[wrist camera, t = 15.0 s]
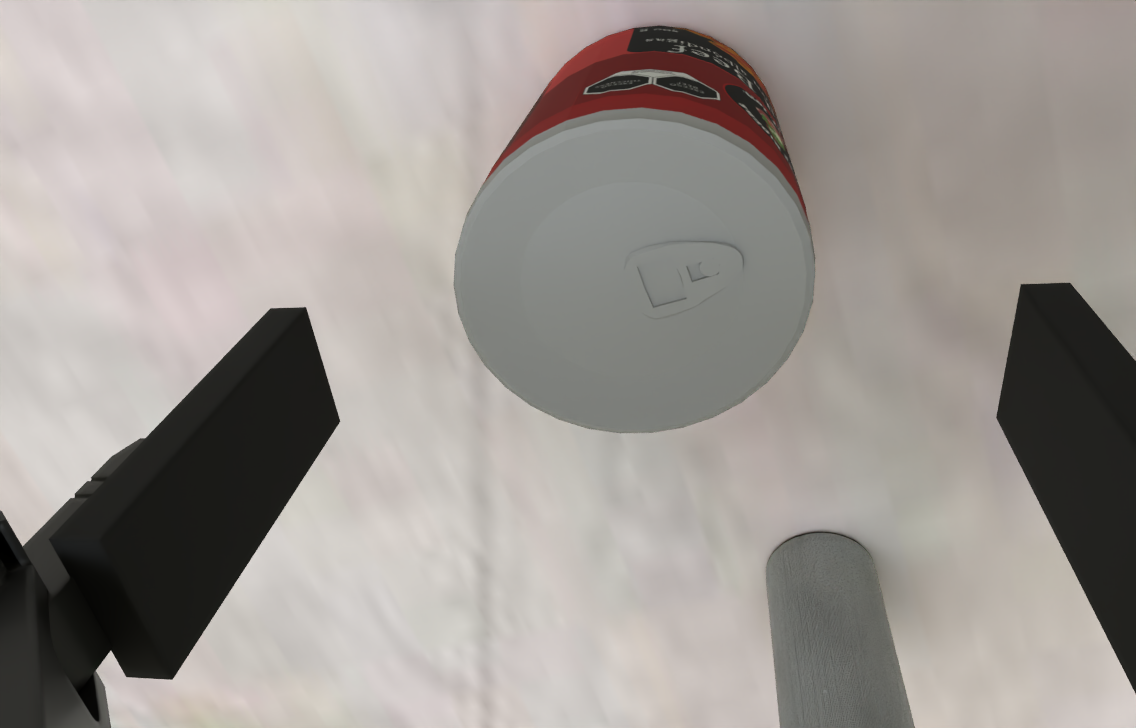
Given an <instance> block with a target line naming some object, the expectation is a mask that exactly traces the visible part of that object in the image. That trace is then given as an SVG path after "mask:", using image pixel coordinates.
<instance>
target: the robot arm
mask: <svg viewBox="0 0 1136 728" xmlns="http://www.w3.org/2000/svg"><path fill="white" fill-rule="evenodd" d="M996 418H997V420H998V422H999V424H1000V426H1001V428H1002V430H1003V432H1004V434H1005V436H1006V438H1007V440H1008V442H1009V444H1010V446H1011V448H1012V450H1013V452H1014V454H1015V456H1016V458H1017V460H1018V462H1019V464H1020V465H1021V467H1022V469H1023V471H1024V473H1025V475H1026V477H1027V479H1028V481H1029V483H1030V485H1031V487H1032V489H1033V491H1034V493H1035V495H1036V497H1037V499H1038V501H1039V503H1040V505H1041V507H1042V509H1043V511H1044V513H1045V515H1046V517H1047V519H1048V521H1049V523H1050V525H1051V527H1052V529H1053V531H1054V533H1055V535H1056V537H1057V539H1058V541H1059V543H1060V545H1061V547H1062V549H1063V551H1064V553H1065V555H1066V557H1067V559H1068V561H1069V563H1070V564H1071V566H1072V568H1073V570H1074V572H1075V574H1076V576H1077V578H1078V580H1079V582H1080V584H1081V586H1082V588H1083V590H1084V592H1085V594H1086V596H1087V598H1088V600H1089V602H1090V604H1091V606H1092V608H1093V610H1094V612H1095V614H1096V616H1097V618H1098V620H1099V622H1100V624H1101V626H1102V628H1103V630H1104V632H1105V634H1106V636H1107V638H1108V640H1109V642H1110V644H1111V646H1112V648H1113V650H1114V652H1115V654H1116V656H1117V658H1118V660H1119V662H1120V663H1121V665H1122V667H1123V669H1124V671H1125V673H1126V675H1127V677H1128V679H1129V681H1130V683H1131V685H1132V687H1133V689H1134V691H1135V693H1136V361H1135V360H1134V359H1133V358H1132V356H1131V355H1130V354H1129V353H1128V352H1127V350H1126V349H1125V348H1124V347H1123V346H1122V344H1121V343H1120V342H1119V341H1118V340H1117V338H1116V337H1115V336H1114V335H1113V334H1112V332H1111V331H1110V330H1109V329H1108V328H1107V326H1106V325H1105V324H1104V323H1103V322H1102V320H1101V319H1100V318H1099V317H1098V316H1097V314H1096V313H1095V312H1094V311H1093V310H1092V308H1091V307H1090V306H1089V305H1088V304H1087V302H1086V301H1085V300H1084V299H1083V298H1082V296H1081V295H1080V294H1079V293H1078V292H1077V290H1076V289H1075V288H1074V287H1073V286H1072V284H1071V283H1048V284H1021V287H1020V293H1019V298H1018V303H1017V309H1016V314H1015V320H1014V325H1013V330H1012V336H1011V341H1010V346H1009V352H1008V357H1007V363H1006V368H1005V373H1004V379H1003V384H1002V390H1001V395H1000V400H999V406H998V411H997V417H996ZM339 422H340V419H339V416H338V412H337V409H336V406H335V402H334V399H333V396H332V392H331V389H330V386H329V382H328V379H327V376H326V372H325V369H324V366H323V362H322V359H321V356H320V352H319V349H318V346H317V342H316V339H315V336H314V332H313V329H312V326H311V322H310V319H309V316H308V312H307V309H306V307H303V308H272V309H270V310H269V311H268V312H267V313H266V314H265V315H264V316H263V317H262V318H261V319H260V320H259V321H258V322H257V323H256V324H255V325H254V326H253V327H252V328H251V329H250V330H249V331H248V332H247V333H246V335H245V336H244V337H243V338H242V339H241V340H240V341H239V342H238V343H237V344H236V345H235V346H234V347H233V348H232V349H231V350H230V351H229V352H228V353H227V354H226V355H225V356H224V357H223V358H222V359H221V360H220V362H219V363H218V364H217V365H216V366H215V367H214V368H213V369H212V370H211V371H210V372H209V373H208V374H207V375H206V376H205V377H204V378H203V379H202V380H201V381H200V382H199V383H198V384H197V385H196V386H195V387H194V389H193V390H192V391H191V392H190V393H189V394H188V395H187V396H186V397H185V398H184V399H183V400H182V401H181V402H180V403H179V404H178V405H177V406H176V407H175V408H174V409H173V410H172V411H171V412H170V413H169V415H168V416H167V417H166V418H165V419H164V420H163V421H162V422H161V423H160V424H159V425H158V426H157V427H156V428H155V429H154V430H153V431H152V432H151V433H150V434H149V435H148V436H147V437H146V438H145V439H139V440H137V441H136V442H134V443H132V444H131V445H129V446H128V447H126V448H125V449H123V450H121V451H120V452H118V453H117V454H115V455H114V456H112V457H111V458H110V459H109V460H108V461H107V462H106V463H105V464H104V465H103V466H102V467H101V468H100V469H99V470H98V471H97V472H96V473H95V474H94V475H93V476H92V477H91V478H92V480H91V481H87V482H86V483H85V484H84V485H83V486H82V487H81V488H80V489H79V490H78V491H77V492H76V493H75V498H70V499H69V500H68V501H67V502H66V503H65V504H64V505H63V506H62V507H61V508H60V509H59V510H58V511H57V512H56V513H55V514H54V515H53V517H52V518H51V519H50V520H49V521H48V522H47V523H46V524H45V525H44V526H43V527H42V528H41V529H40V530H39V531H38V532H37V533H36V534H35V535H34V536H33V537H32V538H31V539H30V540H29V541H28V542H27V543H26V544H25V545H24V546H23V547H22V545H21V543H20V542H19V540H18V538H17V537H16V535H15V533H14V531H13V530H12V528H11V526H10V525H9V523H8V521H7V520H6V518H5V516H4V515H3V513H2V511H0V728H111V724H110V718H109V711H108V705H107V698H106V692H105V686H104V684H103V683H102V681H101V679H100V677H99V676H98V674H97V672H96V669H97V668H98V667H99V665H100V664H101V663H102V661H103V660H104V659H105V657H106V656H107V655H108V653H109V652H110V651H112V652H113V654H114V656H115V658H116V659H117V661H118V663H119V665H120V666H121V668H122V670H123V672H124V674H125V675H126V677H135V678H153V679H171V680H173V678H174V676H175V675H176V673H177V672H178V670H179V669H180V667H181V666H182V664H183V663H184V661H185V660H186V658H187V656H188V655H189V653H190V652H191V650H192V649H193V647H194V646H195V644H196V643H197V641H198V640H199V638H200V636H201V635H202V633H203V632H204V630H205V629H206V627H207V626H208V624H209V623H210V621H211V619H212V618H213V616H214V615H215V613H216V612H217V610H218V609H219V607H220V606H221V604H222V603H223V601H224V599H225V598H226V596H227V595H228V593H229V592H230V590H231V589H232V587H233V586H234V584H235V583H236V581H237V579H238V578H239V576H240V575H241V573H242V572H243V570H244V569H245V567H246V566H247V564H248V563H249V561H250V559H251V558H252V556H253V555H254V553H255V552H256V550H257V549H258V547H259V546H260V544H261V543H262V541H263V539H264V538H265V536H266V535H267V533H268V532H269V530H270V529H271V527H272V526H273V524H274V523H275V521H276V519H277V518H278V516H279V515H280V513H281V512H282V510H283V509H284V507H285V506H286V504H287V503H288V501H289V499H290V498H291V496H292V495H293V493H294V492H295V490H296V489H297V487H298V486H299V484H300V482H301V481H302V479H303V478H304V476H305V475H306V473H307V472H308V470H309V469H310V467H311V466H312V464H313V462H314V461H315V459H316V458H317V456H318V455H319V453H320V452H321V450H322V449H323V447H324V446H325V444H326V442H327V441H328V439H329V438H330V436H331V435H332V433H333V432H334V430H335V429H336V427H337V426H338V424H339Z"/></svg>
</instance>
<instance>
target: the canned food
mask: <svg viewBox="0 0 1136 728" xmlns="http://www.w3.org/2000/svg"><path fill="white" fill-rule="evenodd" d="M814 278H815V254H814V247H813V241H812V235H811V229H810V224H809V221H808V217H807V213H806V207H805V204H804V201H803V198H802V195H801V191H800V188H799V185H798V182H797V179H796V176H795V173H794V170H793V166H792V163H791V160H790V157H789V154H788V151H787V148H786V145H785V142H784V138H783V135H782V132H781V129H780V126H779V123H778V120H777V117H776V113H775V110H774V108H773V105H772V103H771V100H770V98H769V95H768V93H767V90H766V88H765V86H764V85H763V83H762V82H761V80H760V79H759V77H758V76H757V74H756V73H755V72H754V70H753V69H752V67H751V66H750V65H749V64H748V63H747V62H746V61H744V60H743V59H742V58H741V57H740V56H739V55H738V54H737V53H736V52H735V51H734V50H732V49H731V48H729V47H727V46H726V45H724V44H722V43H720V42H719V41H717V40H715V39H714V38H712V37H710V36H707V35H704V34H701V33H698V32H695V31H691V30H688V29H684V28H675V27H666V26H652V27H641V28H632V29H629V30H626V31H622V32H619V33H616V34H612V35H609V36H607V37H605V38H603V39H601V40H599V41H597V42H595V43H593V44H591V45H590V46H588V47H586V48H584V49H583V50H582V51H581V52H579V53H578V54H577V55H576V56H574V57H573V58H572V59H571V60H569V61H568V62H567V63H566V64H565V65H564V66H563V67H562V68H561V70H560V71H559V72H558V73H557V74H556V76H555V77H554V78H553V79H552V80H551V82H550V83H549V84H548V86H547V87H546V89H545V90H544V92H543V93H542V95H541V96H540V98H539V99H538V101H537V102H536V104H535V105H534V106H533V108H532V109H531V111H530V112H529V114H528V115H527V117H526V118H525V120H524V121H523V123H522V124H521V126H520V127H519V129H518V130H517V132H516V133H515V135H514V136H513V138H512V139H511V141H510V142H509V144H508V145H507V147H506V148H505V150H504V151H503V153H502V154H501V156H500V157H499V159H498V160H497V162H496V163H495V165H494V166H493V168H492V169H491V171H490V173H489V175H488V177H487V179H486V180H485V182H484V183H483V185H482V187H481V188H480V190H479V192H478V194H477V196H476V198H475V200H474V202H473V203H472V205H471V207H470V209H469V211H468V213H467V216H466V219H465V223H464V225H463V229H462V232H461V236H460V239H459V243H458V246H457V250H456V254H455V270H454V289H455V295H456V301H457V307H458V313H459V316H460V319H461V321H462V324H463V326H464V329H465V331H466V334H467V336H468V339H469V341H470V343H471V345H472V346H473V348H474V349H475V351H476V352H477V354H478V355H479V357H480V358H481V360H482V361H483V363H484V365H485V366H486V367H487V368H488V369H489V370H490V371H491V372H492V373H493V374H494V375H495V377H496V378H497V379H498V380H499V381H500V382H501V383H502V384H503V385H504V386H505V387H506V388H507V389H509V390H510V391H511V392H513V393H514V394H516V395H517V396H518V397H520V398H521V399H522V400H524V401H525V402H527V403H528V404H529V405H531V406H533V407H535V408H537V409H539V410H541V411H543V412H545V413H547V414H549V415H551V416H553V417H555V418H557V419H559V420H562V421H566V422H569V423H572V424H575V425H579V426H582V427H585V428H588V429H595V430H602V431H609V432H616V433H653V432H659V431H665V430H671V429H677V428H683V427H686V426H689V425H692V424H695V423H698V422H701V421H704V420H707V419H710V418H713V417H715V416H717V415H719V414H721V413H722V412H724V411H726V410H728V409H730V408H732V407H734V406H736V405H738V404H739V403H741V402H743V401H744V400H745V399H747V398H748V397H749V396H750V395H752V394H753V393H754V392H755V391H757V390H758V389H759V388H761V387H762V386H763V385H764V384H766V383H767V382H768V381H769V380H770V378H771V377H772V376H773V375H774V374H775V373H776V372H777V370H778V369H779V368H780V367H781V366H782V365H783V364H784V362H785V361H786V360H787V359H788V357H789V356H790V354H791V352H792V350H793V349H794V347H795V345H796V343H797V342H798V340H799V338H800V336H801V335H802V333H803V331H804V328H805V324H806V321H807V318H808V315H809V312H810V308H811V305H812V302H813V291H814Z"/></svg>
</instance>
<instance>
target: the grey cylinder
mask: <svg viewBox="0 0 1136 728" xmlns="http://www.w3.org/2000/svg"><path fill="white" fill-rule="evenodd" d="M766 583H767V594H768V605H769V615H770V626H771V636H772V647H773V658H774V668H775V679H776V689H777V700H778V711H779V721H780V728H915V726H914V722H913V718H912V714H911V710H910V706H909V702H908V698H907V694H906V690H905V686H904V682H903V678H902V674H901V670H900V666H899V662H898V658H897V654H896V650H895V646H894V642H893V638H892V634H891V630H890V626H889V622H888V618H887V614H886V610H885V606H884V602H883V598H882V594H881V590H880V586H879V581H878V577H877V573H876V570H875V567H874V564H873V561H872V559H871V557H870V555H869V554H868V552H867V551H866V550H865V549H864V548H863V547H862V546H861V545H860V544H858V543H857V542H855V541H853V540H851V539H849V538H846V537H844V536H840V535H836V534H831V533H811V534H806V535H802V536H798V537H795V538H793V539H791V540H789V541H787V542H785V543H784V544H782V545H781V546H780V547H779V548H777V549H776V550H775V552H774V553H773V554H772V555H771V557H770V559H769V561H768V564H767V568H766Z"/></svg>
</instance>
